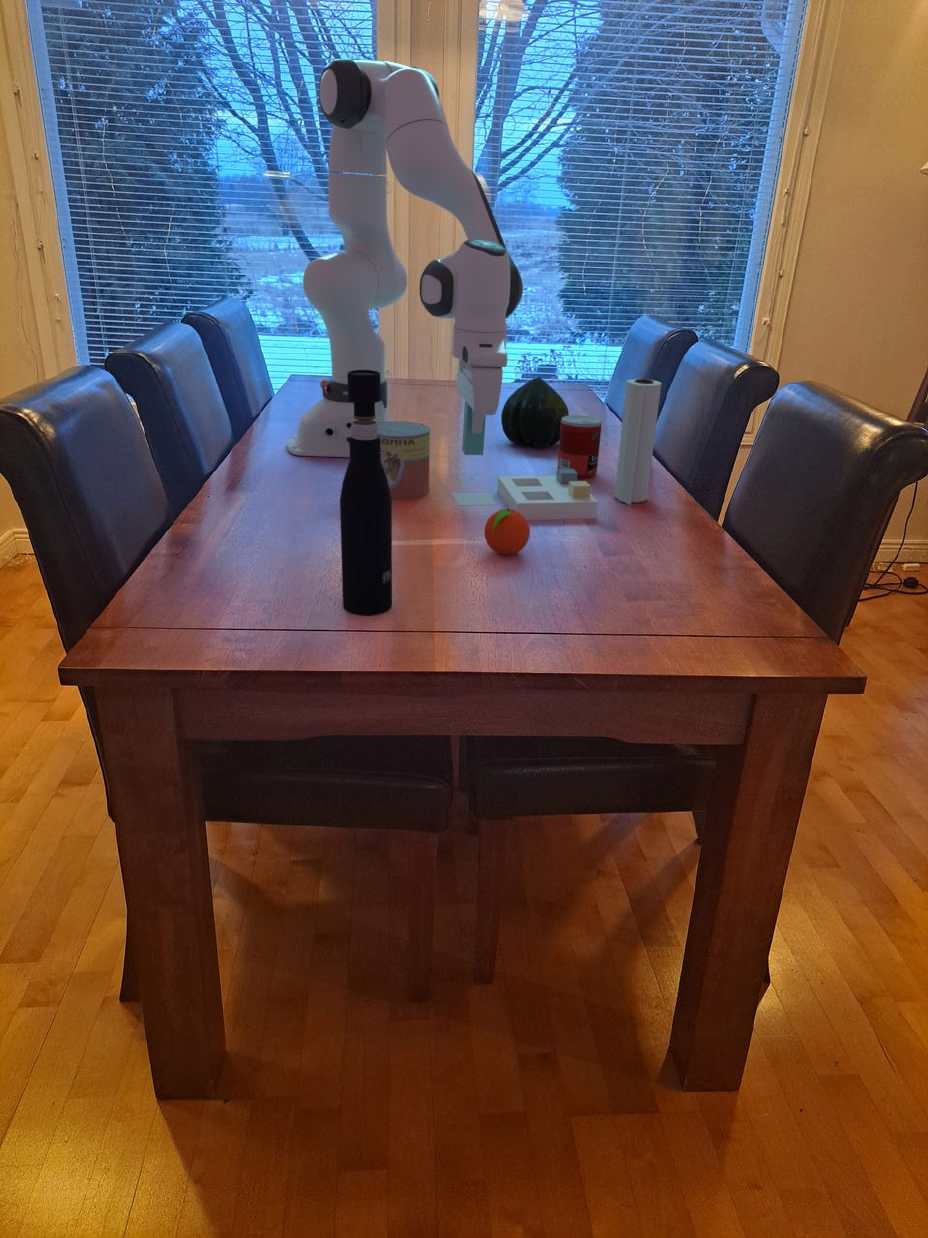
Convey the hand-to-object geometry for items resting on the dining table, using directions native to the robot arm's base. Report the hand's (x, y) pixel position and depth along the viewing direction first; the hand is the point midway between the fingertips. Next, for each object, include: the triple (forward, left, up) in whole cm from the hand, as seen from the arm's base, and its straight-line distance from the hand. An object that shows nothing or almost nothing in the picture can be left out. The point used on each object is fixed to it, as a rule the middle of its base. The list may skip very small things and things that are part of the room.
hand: (473, 428), depth 153 cm
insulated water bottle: (-21, -43, -13) cm, 50 cm away
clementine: (+1, -26, -13) cm, 30 cm away
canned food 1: (-12, +6, -13) cm, 19 cm away
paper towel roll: (+30, 0, -13) cm, 32 cm away
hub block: (+13, -4, -13) cm, 19 cm away
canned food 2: (+25, +17, -13) cm, 32 cm away
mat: (+1, 0, -13) cm, 13 cm away
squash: (+22, +42, -13) cm, 49 cm away
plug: (0, 0, -4) cm, 4 cm away
